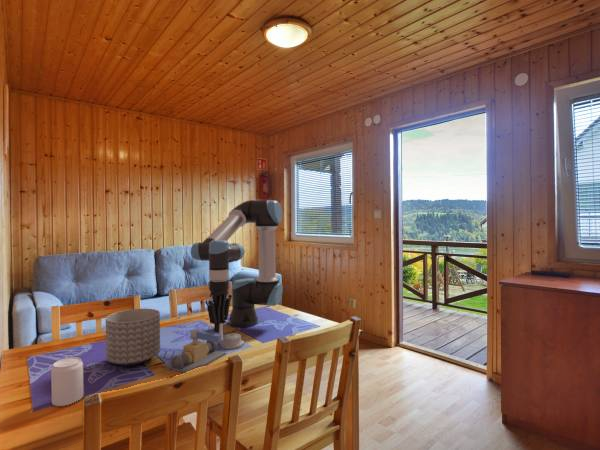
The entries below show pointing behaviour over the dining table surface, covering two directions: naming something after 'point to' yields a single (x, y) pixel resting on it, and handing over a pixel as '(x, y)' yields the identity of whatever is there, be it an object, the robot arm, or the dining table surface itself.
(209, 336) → the lever
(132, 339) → the planter
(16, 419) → the dining table surface
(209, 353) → the valve assembly
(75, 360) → the beverage can
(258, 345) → the dining table surface
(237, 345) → the mechanical component
